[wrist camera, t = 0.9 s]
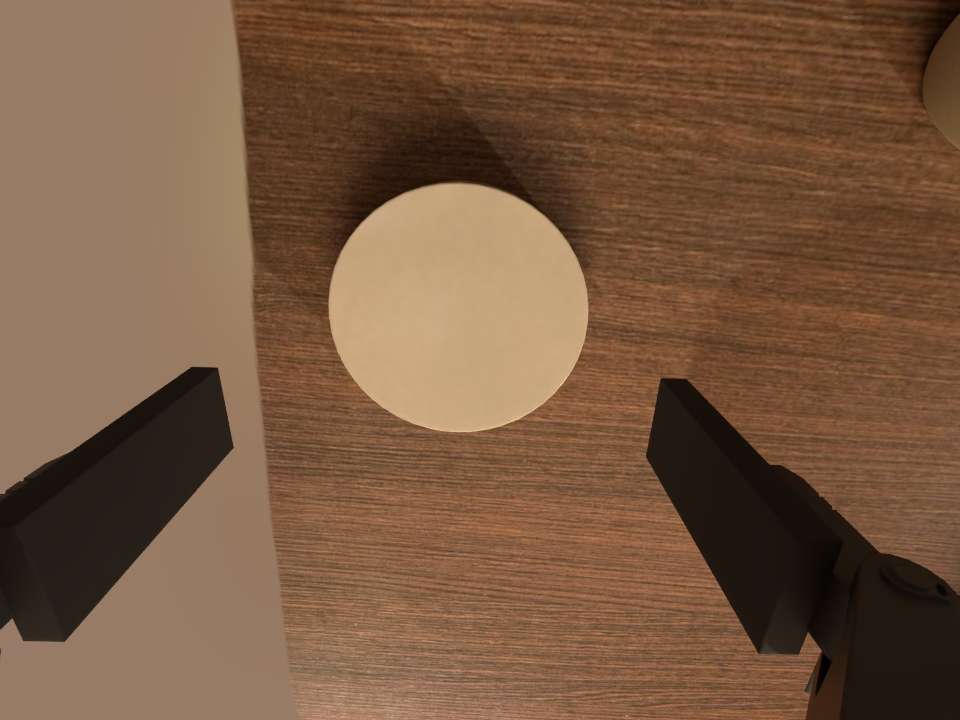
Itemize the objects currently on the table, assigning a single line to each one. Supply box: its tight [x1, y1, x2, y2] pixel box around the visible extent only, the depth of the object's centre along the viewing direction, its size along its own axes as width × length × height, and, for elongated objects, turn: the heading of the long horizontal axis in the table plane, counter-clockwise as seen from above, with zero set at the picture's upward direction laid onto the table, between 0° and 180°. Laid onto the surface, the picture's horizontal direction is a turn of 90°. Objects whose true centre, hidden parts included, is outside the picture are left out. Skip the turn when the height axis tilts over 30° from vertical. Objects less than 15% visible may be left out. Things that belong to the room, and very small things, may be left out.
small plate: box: [328, 180, 589, 432], centre depth 23 cm, size 12×12×2 cm
